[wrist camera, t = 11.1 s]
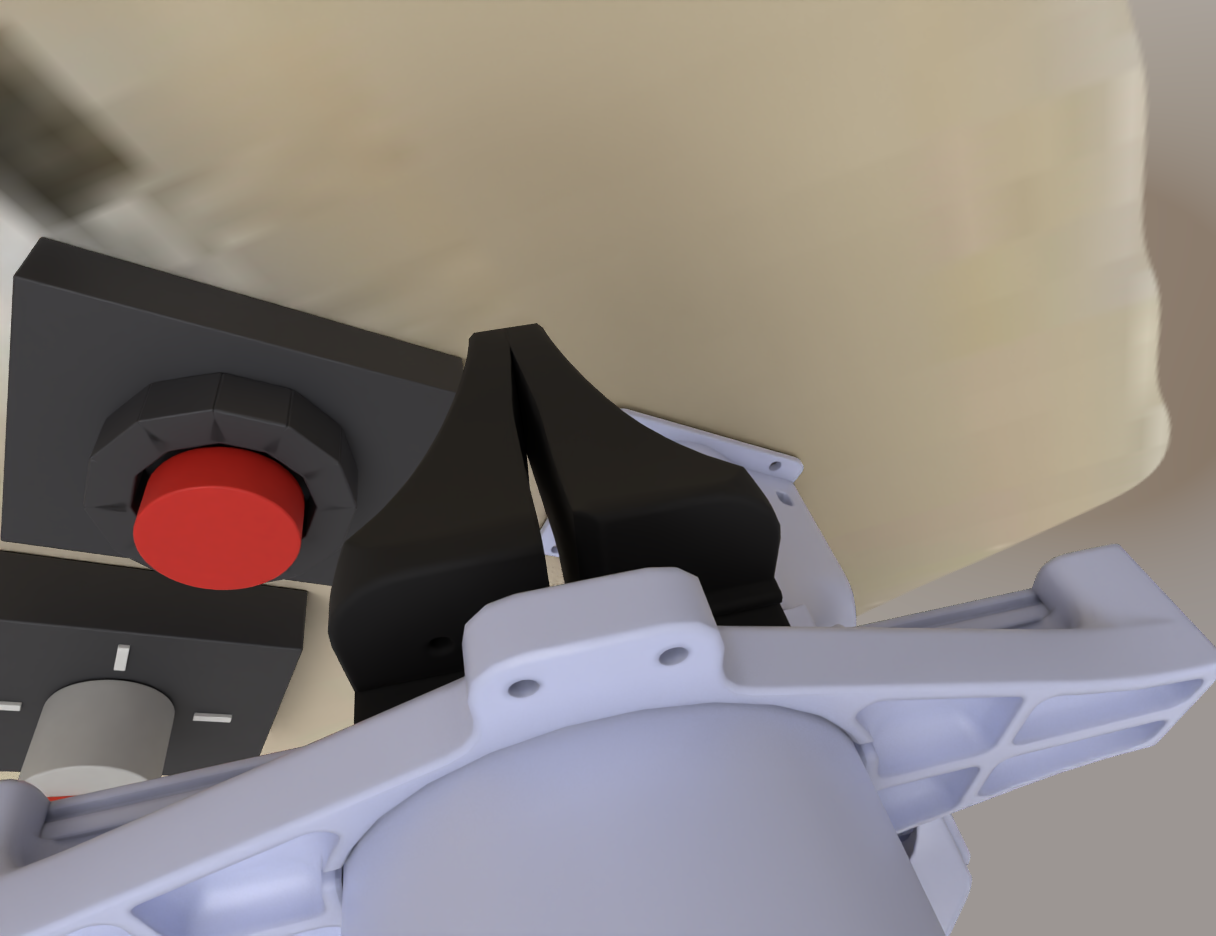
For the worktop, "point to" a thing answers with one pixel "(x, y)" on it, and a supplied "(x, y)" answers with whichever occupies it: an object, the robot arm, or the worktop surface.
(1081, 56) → the worktop surface
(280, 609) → the timer panel
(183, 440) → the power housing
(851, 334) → the worktop surface
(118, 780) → the timer dial
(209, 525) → the power button
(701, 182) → the worktop surface
